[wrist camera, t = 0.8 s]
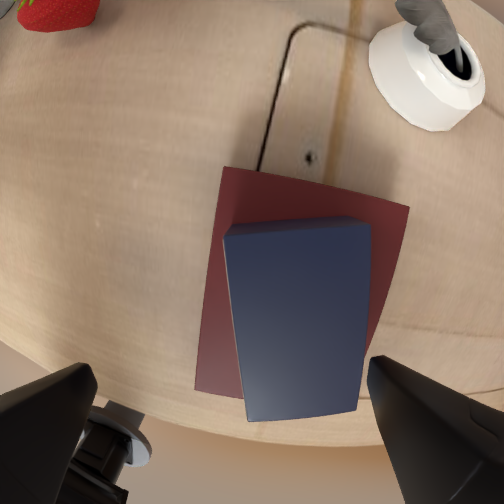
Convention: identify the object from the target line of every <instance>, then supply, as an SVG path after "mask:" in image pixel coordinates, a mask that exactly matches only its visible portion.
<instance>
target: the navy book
mask: <svg viewBox="0 0 504 504" xmlns="http://www.w3.org/2000/svg"><path fill="white" fill-rule="evenodd" d="M223 246H224V255H225V263H226V272H227V280H228V288H229V296H230V304H231V312H232V320H233V327H234V334H235V342H236V349H237V356H238V363H239V370H240V377H241V384H242V390H243V397H244V403H245V410H246V416H247V420H248V422H260V421H278V420H291V419H301V418H310V417H319V416H326V415H333V414H339V413H345V412H351V411H356V409H357V403H358V397H359V391H360V385H361V378H362V371H363V364H364V356H365V347H366V338H367V327H368V315H369V300H370V280H371V225H370V224H368V223H366V222H363V221H361V220H358V219H356V218H353V217H350V216H332V217H317V218H303V219H289V220H276V221H263V222H251V223H240V224H232V225H231V226H230V228H229V229H228V230H227V231H226V233H225V234H224V235H223Z"/></svg>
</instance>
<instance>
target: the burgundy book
mask: <svg viewBox="0 0 504 504" xmlns="http://www.w3.org/2000/svg"><path fill="white" fill-rule="evenodd" d="M409 209H410V207H409V206H405V205H402V204H398V203H395V202H391V201H388V200H384V199H380V198H377V197H373V196H369V195H365V194H361V193H357V192H353V191H349V190H345V189H341V188H337V187H332V186H328V185H323V184H319V183H314V182H310V181H305V180H300V179H295V178H290V177H285V176H279V175H274V174H269V173H263V172H257V171H251V170H245V169H239V168H233V167H226V166H224V167H223V172H222V178H221V184H220V190H219V196H218V202H217V208H216V215H215V221H214V228H213V235H212V242H211V249H210V256H209V263H208V270H207V278H206V286H205V294H204V302H203V310H202V319H201V328H200V337H199V346H198V356H197V367H196V377H195V390H196V391H201V392H206V393H211V394H216V395H221V396H227V397H233V398H239V399H244V397H243V390H242V384H241V377H240V370H239V363H238V356H237V349H236V342H235V334H234V327H233V320H232V312H231V304H230V296H229V288H228V280H227V272H226V263H225V255H224V246H223V235H224V234H225V233H226V231H227V230H228V229H229V228H230V226H231V225H232V224H240V223H251V222H263V221H276V220H289V219H303V218H317V217H332V216H350V217H353V218H356V219H358V220H361V221H363V222H366V223H368V224H370V225H371V280H370V300H369V315H368V327H367V338H366V347H365V355H366V353H367V350H368V348H369V345H370V343H371V340H372V338H373V335H374V332H375V329H376V327H377V324H378V321H379V318H380V315H381V313H382V310H383V307H384V304H385V301H386V297H387V294H388V291H389V288H390V285H391V281H392V278H393V274H394V271H395V267H396V264H397V260H398V256H399V252H400V249H401V245H402V240H403V236H404V232H405V228H406V223H407V218H408V214H409ZM364 358H365V356H364Z"/></svg>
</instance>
